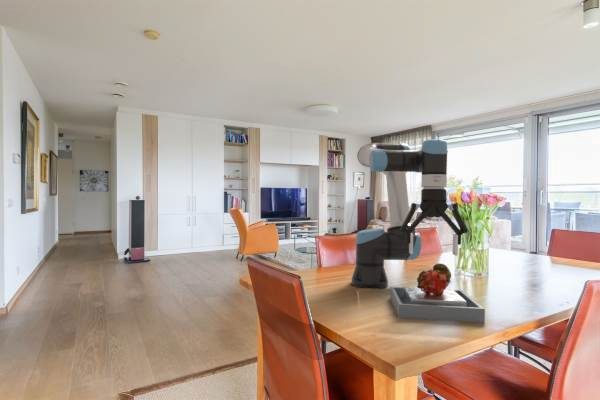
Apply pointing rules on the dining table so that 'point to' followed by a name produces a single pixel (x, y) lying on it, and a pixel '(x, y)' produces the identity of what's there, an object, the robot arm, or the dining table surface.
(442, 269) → the avocado
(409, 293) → the metal tin
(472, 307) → the tray
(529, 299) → the dining table surface
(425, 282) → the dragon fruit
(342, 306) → the dining table surface
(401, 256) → the robot arm
